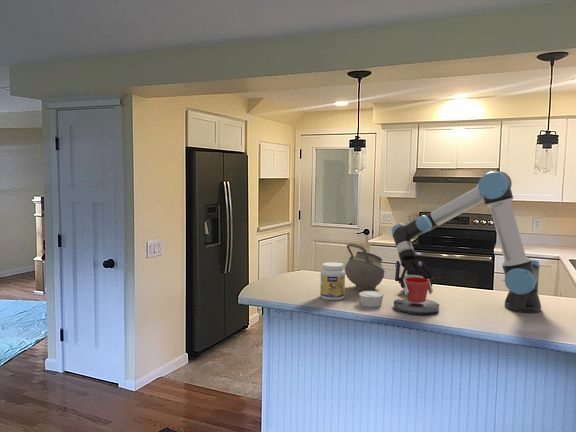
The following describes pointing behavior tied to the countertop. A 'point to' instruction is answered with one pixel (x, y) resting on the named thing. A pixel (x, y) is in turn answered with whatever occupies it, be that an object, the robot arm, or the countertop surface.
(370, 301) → the ramekin
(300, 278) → the countertop surface
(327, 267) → the supplement tub
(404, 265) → the robot arm
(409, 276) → the teacup
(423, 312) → the disc
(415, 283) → the flower pot
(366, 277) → the pot
